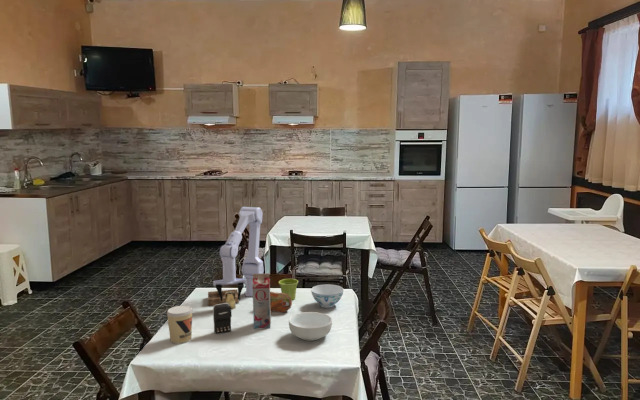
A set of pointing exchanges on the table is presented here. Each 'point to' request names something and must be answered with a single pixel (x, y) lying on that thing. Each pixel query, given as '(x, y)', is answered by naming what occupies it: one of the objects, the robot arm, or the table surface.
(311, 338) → the cereal bowl
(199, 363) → the table surface
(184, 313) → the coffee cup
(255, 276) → the juice carton
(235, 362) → the table surface
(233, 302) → the bushing
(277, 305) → the tin
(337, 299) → the chinaware
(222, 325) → the battery charger
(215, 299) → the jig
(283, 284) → the plant pot
